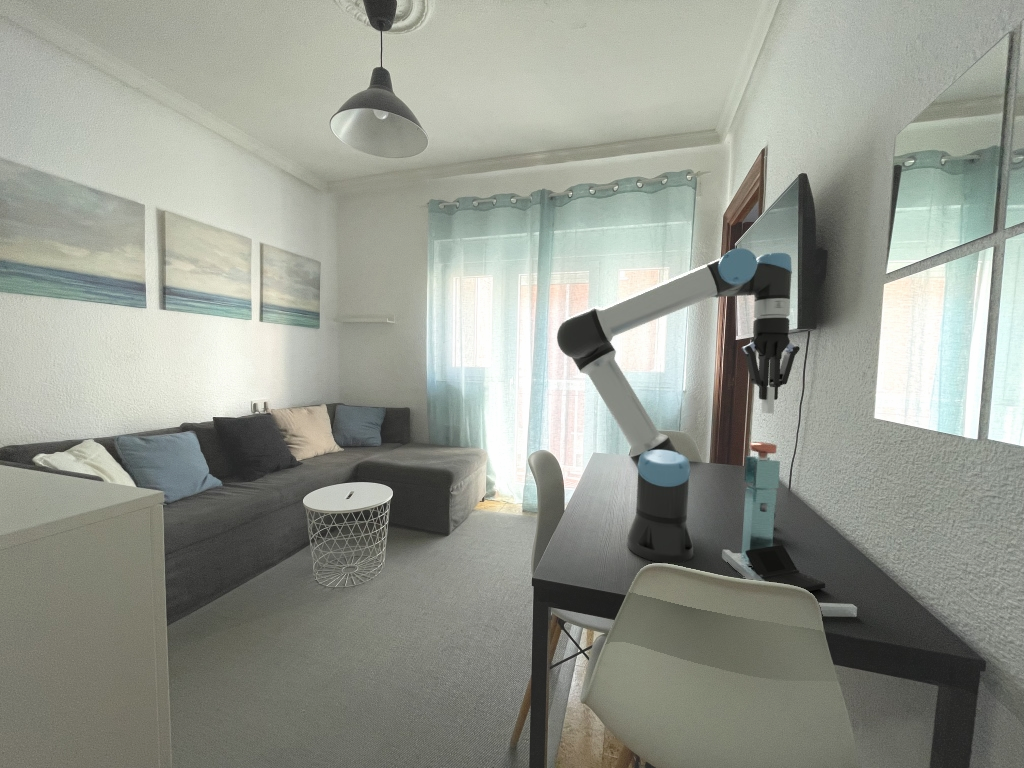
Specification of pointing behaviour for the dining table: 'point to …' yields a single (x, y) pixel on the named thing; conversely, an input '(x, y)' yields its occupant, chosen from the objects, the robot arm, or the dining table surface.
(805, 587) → the handheld gaming console
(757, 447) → the plunger
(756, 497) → the frame
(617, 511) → the dining table surface
